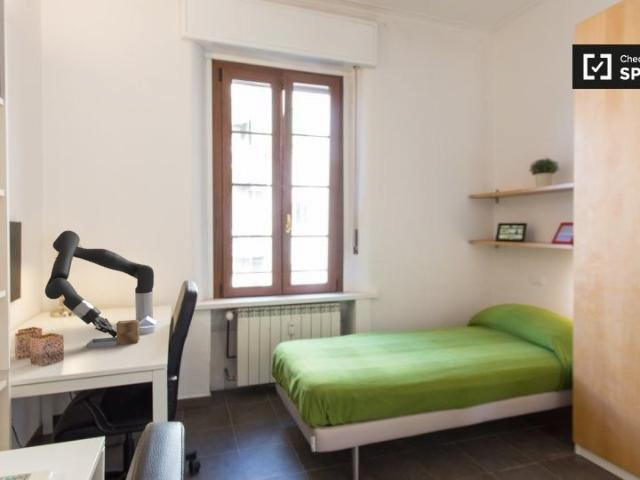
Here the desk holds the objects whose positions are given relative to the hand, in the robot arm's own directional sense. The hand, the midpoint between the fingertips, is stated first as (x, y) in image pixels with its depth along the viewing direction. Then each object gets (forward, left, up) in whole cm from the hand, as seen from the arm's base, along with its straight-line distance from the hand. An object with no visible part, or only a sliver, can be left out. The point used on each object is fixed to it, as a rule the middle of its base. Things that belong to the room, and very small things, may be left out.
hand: (116, 335), depth 180 cm
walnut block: (0, +5, -4) cm, 6 cm away
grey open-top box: (0, -5, -4) cm, 6 cm away
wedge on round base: (-19, +11, -4) cm, 22 cm away
